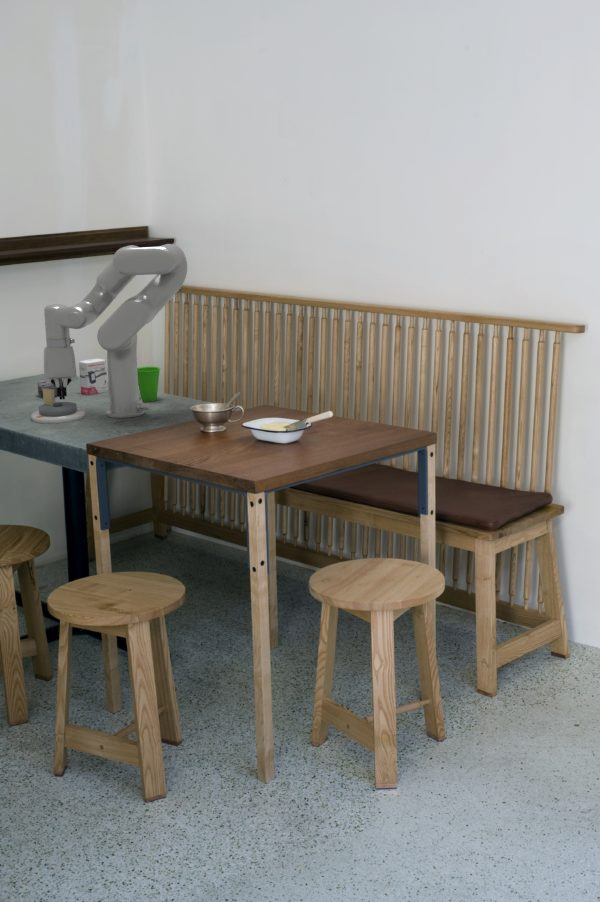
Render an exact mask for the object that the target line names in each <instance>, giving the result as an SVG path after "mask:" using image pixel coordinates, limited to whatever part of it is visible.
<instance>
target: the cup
mask: <svg viewBox="0 0 600 902" xmlns="http://www.w3.org/2000/svg"><path fill="white" fill-rule="evenodd" d="M160 370H161V367H159V366H152V365H151V366H140V367H137V372H138V387H139V396H140V399H142V402H146V403H150V402H156V401H157V399H158V388H159V380H160Z"/></svg>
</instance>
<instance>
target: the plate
mask: <svg viewBox="0 0 600 902" xmlns="http://www.w3.org/2000/svg"><path fill="white" fill-rule="evenodd" d="M30 416H31V421H32V422H35V423H40V424H63V423H64V424H65V423H70V422H75V421H80V420H82V419H84V418H85V417H86V411H85V409H83V408H80V407H77V412H75V413H73V414H69V415H62V416H44V415H40V414H39V410H36V411H34V412H32V413H31V415H30Z"/></svg>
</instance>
